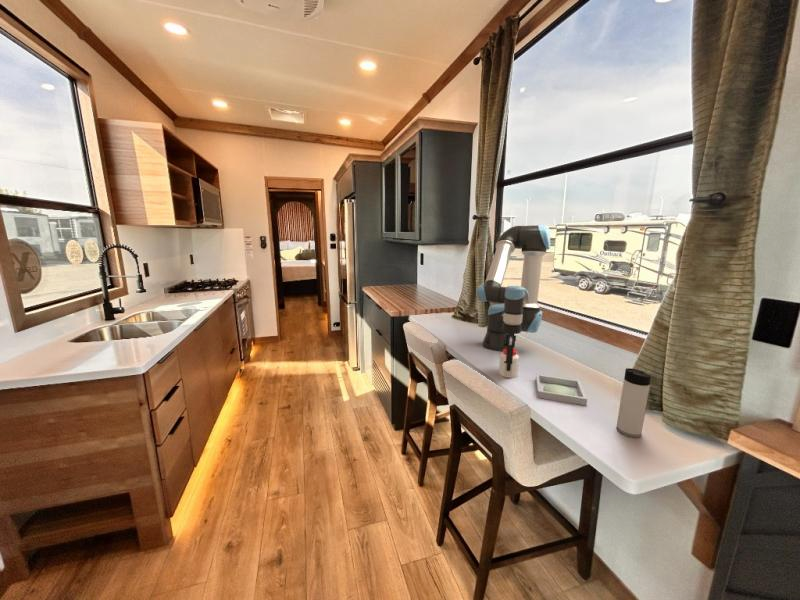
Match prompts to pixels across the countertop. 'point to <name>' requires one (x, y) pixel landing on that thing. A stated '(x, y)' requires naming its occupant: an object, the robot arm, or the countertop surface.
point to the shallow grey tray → (557, 396)
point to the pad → (559, 389)
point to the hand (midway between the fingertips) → (508, 373)
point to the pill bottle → (514, 364)
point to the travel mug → (633, 402)
